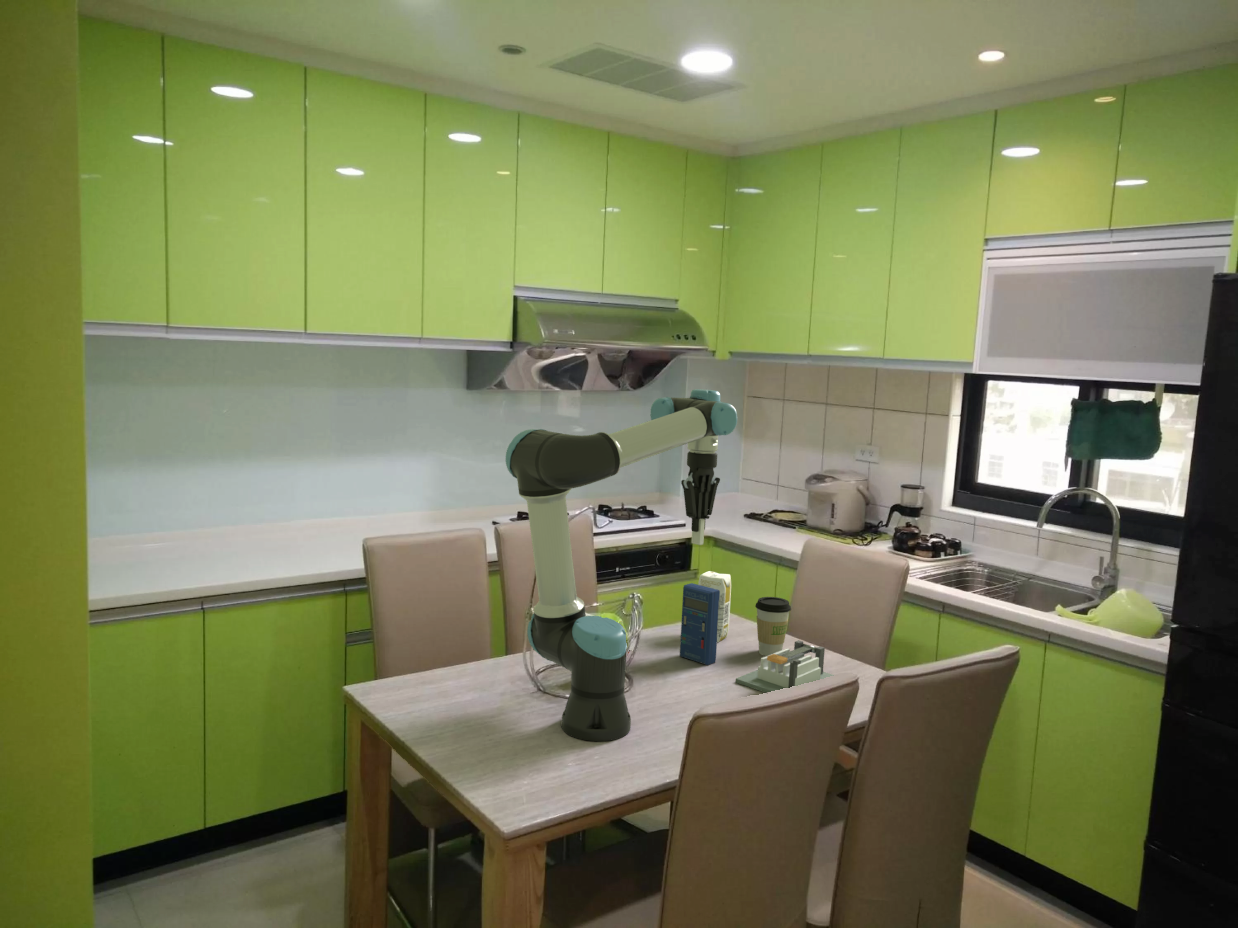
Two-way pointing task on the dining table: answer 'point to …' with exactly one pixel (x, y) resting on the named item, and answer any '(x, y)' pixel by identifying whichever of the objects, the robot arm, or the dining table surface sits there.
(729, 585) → the juice carton
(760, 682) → the heatsink base
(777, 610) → the coffee cup
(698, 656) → the electronic device
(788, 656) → the lever
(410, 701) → the dining table surface
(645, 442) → the robot arm
